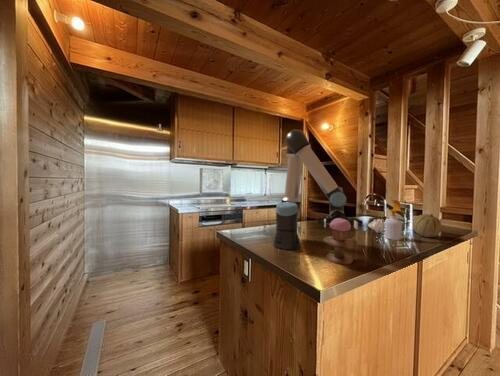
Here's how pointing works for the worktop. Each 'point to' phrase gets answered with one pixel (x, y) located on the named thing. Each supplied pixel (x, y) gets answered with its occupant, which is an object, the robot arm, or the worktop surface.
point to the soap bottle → (393, 224)
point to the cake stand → (339, 250)
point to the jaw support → (377, 225)
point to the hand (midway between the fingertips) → (340, 225)
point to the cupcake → (340, 229)
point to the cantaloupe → (427, 225)
